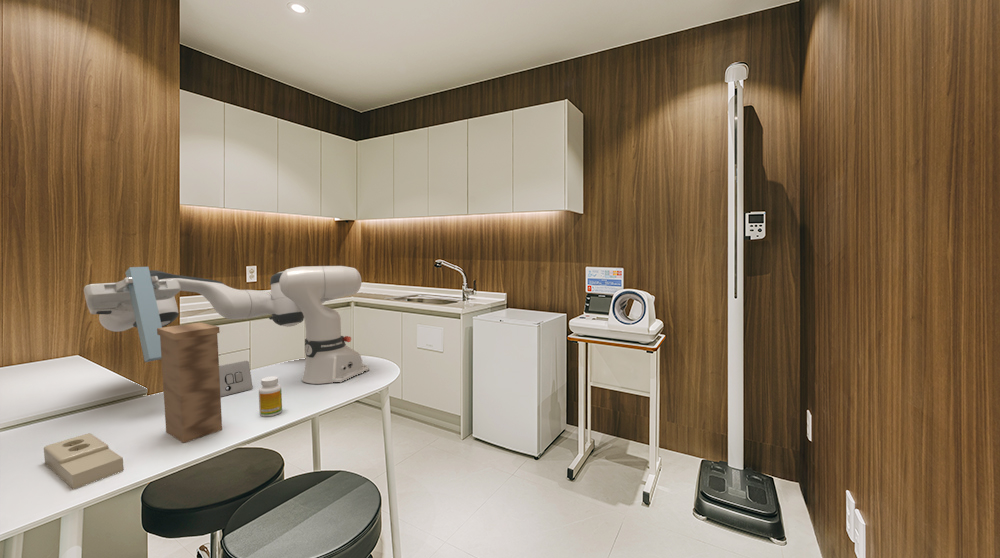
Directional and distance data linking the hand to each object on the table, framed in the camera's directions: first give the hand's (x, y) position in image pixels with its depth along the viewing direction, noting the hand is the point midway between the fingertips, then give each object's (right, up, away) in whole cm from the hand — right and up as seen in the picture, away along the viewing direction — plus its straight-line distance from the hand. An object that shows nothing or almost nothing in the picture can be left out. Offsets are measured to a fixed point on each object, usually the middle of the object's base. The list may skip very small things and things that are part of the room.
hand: (142, 279), depth 109 cm
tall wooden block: (+23, -38, -11) cm, 46 cm away
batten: (0, -10, +1) cm, 10 cm away
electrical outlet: (+12, -40, -27) cm, 50 cm away
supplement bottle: (+36, -37, 0) cm, 52 cm away
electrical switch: (+15, -36, +15) cm, 41 cm away
